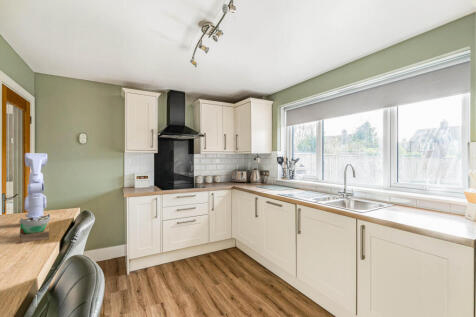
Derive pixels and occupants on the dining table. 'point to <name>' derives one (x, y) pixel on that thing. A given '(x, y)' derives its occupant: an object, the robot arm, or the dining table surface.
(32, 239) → the walnut bar
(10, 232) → the dining table surface
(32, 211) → the robot arm
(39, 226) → the food container
